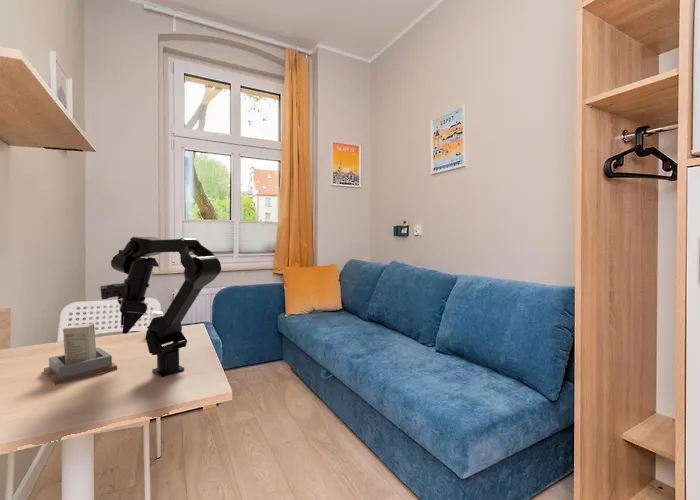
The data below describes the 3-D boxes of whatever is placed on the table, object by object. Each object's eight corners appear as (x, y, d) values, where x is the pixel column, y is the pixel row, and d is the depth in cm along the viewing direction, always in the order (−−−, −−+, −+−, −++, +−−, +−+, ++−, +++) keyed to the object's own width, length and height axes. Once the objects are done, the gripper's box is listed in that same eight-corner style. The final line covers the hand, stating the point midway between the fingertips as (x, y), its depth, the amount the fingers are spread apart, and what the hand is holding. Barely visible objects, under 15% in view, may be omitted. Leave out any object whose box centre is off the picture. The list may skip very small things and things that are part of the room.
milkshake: (163, 335, 135) (163, 310, 135) (148, 335, 134) (148, 310, 134) (167, 332, 140) (167, 307, 139) (153, 332, 139) (153, 308, 138)
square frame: (111, 365, 101) (111, 355, 101) (59, 379, 91) (58, 367, 91) (99, 356, 108) (98, 347, 108) (49, 367, 99) (48, 357, 99)
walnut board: (117, 369, 101) (117, 365, 101) (55, 384, 90) (55, 381, 90) (101, 358, 110) (101, 355, 110) (44, 371, 99) (43, 368, 99)
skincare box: (97, 363, 103) (96, 322, 102) (90, 368, 98) (89, 326, 98) (71, 365, 101) (70, 324, 101) (63, 370, 97) (62, 328, 96)
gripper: (106, 268, 106) (91, 318, 104) (107, 277, 91) (89, 335, 89) (146, 275, 112) (133, 322, 111) (154, 284, 97) (138, 339, 96)
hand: (123, 329), depth 102 cm, fingers open, 9 cm apart
